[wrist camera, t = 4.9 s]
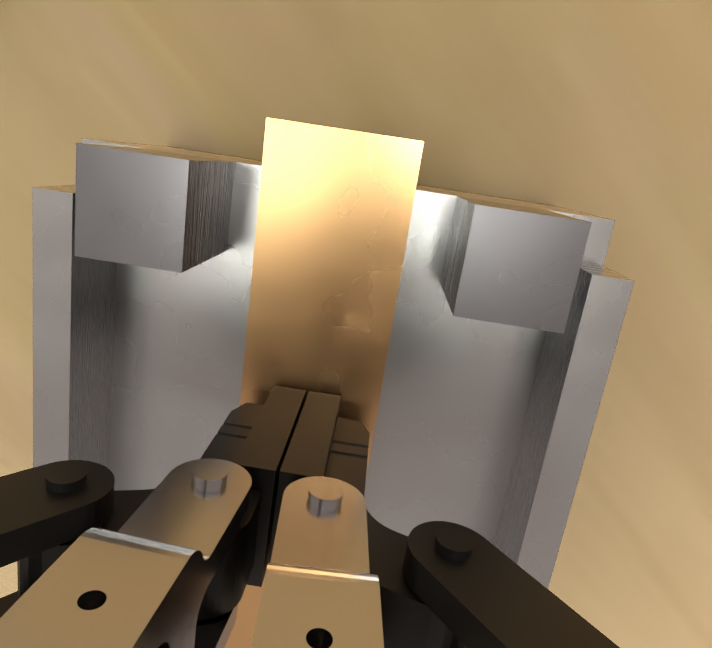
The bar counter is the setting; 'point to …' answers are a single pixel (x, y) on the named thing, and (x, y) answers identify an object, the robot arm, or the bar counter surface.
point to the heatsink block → (405, 352)
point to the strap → (325, 274)
